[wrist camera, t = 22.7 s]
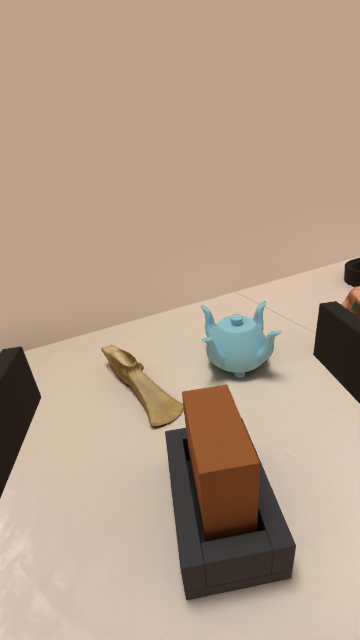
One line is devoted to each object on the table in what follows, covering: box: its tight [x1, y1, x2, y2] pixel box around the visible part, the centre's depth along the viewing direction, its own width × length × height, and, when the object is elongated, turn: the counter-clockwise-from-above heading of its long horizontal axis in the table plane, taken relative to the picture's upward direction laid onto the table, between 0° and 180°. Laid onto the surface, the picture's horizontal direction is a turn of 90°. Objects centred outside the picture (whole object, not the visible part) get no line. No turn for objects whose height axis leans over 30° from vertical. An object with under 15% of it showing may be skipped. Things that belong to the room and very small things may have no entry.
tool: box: [101, 345, 184, 426], centre depth 55 cm, size 22×6×5 cm, turn 33°
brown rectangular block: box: [182, 385, 260, 542], centre depth 32 cm, size 5×10×12 cm, turn 8°
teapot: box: [201, 301, 282, 378], centre depth 57 cm, size 13×13×10 cm
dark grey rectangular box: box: [165, 418, 296, 600], centre depth 34 cm, size 10×15×6 cm, turn 7°
